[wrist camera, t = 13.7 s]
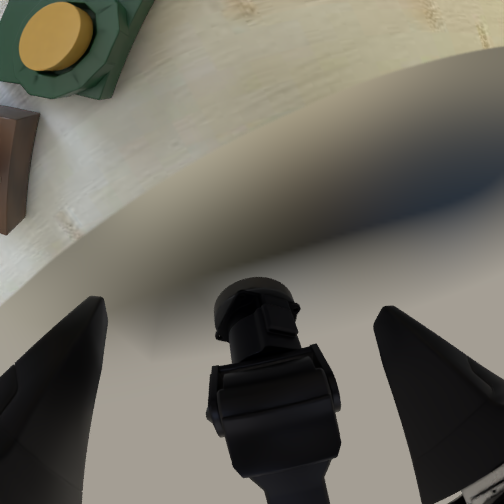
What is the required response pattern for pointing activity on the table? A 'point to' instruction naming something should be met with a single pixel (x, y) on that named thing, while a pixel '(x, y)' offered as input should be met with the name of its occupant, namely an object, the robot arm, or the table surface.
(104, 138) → the table surface
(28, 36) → the lamp switch
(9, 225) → the dimmer panel
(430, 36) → the table surface
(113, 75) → the lamp base
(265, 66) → the table surface
